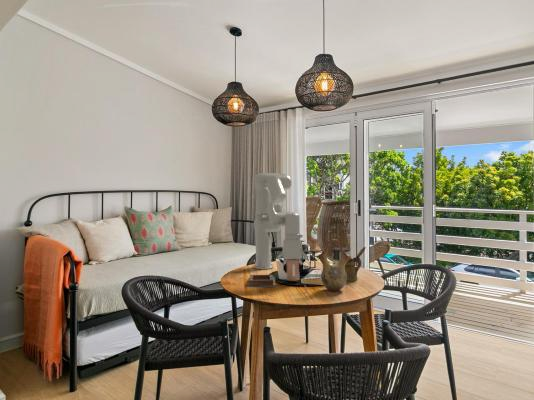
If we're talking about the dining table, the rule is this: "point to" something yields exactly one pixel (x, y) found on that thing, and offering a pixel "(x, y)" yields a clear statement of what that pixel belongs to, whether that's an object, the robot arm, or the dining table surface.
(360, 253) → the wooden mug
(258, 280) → the jug stand
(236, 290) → the dining table surface
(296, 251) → the robot arm
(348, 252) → the coffee can
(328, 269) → the ceramic vessel
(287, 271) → the jug
